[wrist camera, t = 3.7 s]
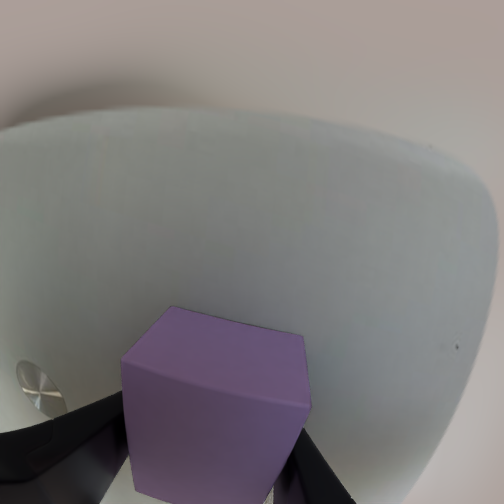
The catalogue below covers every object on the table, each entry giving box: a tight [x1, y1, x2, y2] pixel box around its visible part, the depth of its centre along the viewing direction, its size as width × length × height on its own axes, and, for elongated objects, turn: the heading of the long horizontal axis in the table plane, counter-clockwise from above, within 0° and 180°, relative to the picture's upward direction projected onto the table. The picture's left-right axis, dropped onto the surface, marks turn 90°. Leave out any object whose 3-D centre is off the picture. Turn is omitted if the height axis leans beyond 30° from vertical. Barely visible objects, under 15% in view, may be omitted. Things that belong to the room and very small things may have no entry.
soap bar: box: [121, 306, 312, 504], centre depth 7 cm, size 6×4×3 cm, turn 169°
